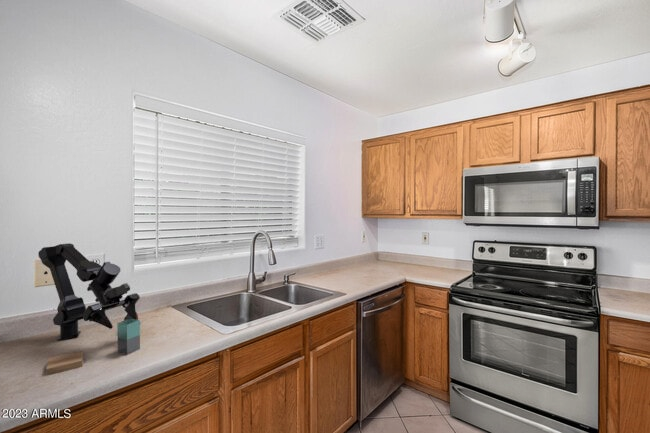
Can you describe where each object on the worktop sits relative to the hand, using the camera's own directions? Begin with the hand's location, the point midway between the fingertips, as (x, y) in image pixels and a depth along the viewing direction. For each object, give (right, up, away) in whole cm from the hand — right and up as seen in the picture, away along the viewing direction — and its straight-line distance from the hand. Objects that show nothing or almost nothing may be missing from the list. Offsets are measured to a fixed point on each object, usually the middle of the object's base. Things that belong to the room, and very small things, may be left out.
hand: (124, 323), depth 114 cm
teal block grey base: (+2, -10, -1) cm, 10 cm away
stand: (-12, -10, -11) cm, 20 cm away
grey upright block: (-9, -10, +19) cm, 24 cm away
